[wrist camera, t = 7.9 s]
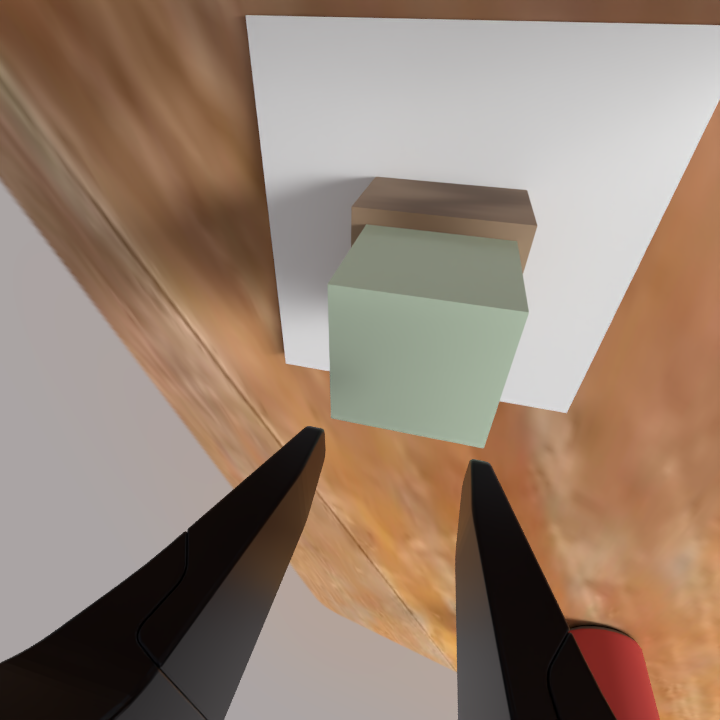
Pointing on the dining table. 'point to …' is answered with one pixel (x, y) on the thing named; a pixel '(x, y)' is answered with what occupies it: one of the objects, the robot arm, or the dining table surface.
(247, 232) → the dining table surface
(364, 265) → the green block
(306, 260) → the build plate
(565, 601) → the dining table surface
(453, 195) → the walnut block
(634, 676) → the beer can
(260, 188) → the dining table surface
